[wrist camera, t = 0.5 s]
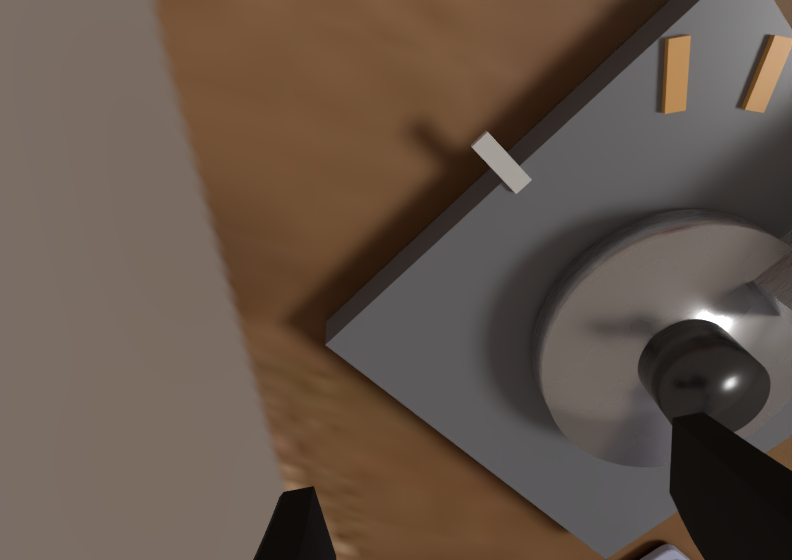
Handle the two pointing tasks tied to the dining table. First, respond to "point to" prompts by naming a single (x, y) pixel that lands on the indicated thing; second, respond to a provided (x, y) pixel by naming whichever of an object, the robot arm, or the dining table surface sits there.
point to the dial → (667, 334)
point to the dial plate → (579, 249)
